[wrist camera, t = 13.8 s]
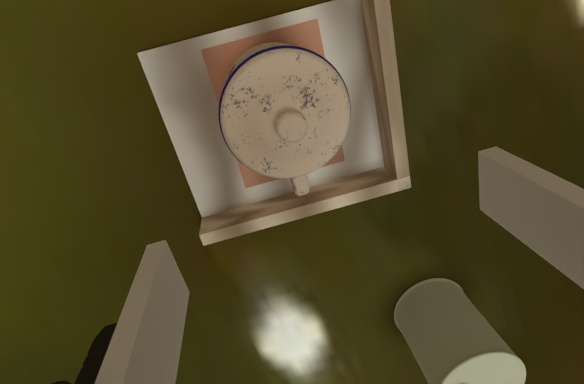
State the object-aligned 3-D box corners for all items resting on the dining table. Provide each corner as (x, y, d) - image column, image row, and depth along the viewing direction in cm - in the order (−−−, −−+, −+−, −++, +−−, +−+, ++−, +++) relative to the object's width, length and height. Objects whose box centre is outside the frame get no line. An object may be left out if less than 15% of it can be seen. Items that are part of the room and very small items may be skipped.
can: (398, 279, 46) (450, 361, 35) (471, 274, 47) (542, 352, 36) (388, 338, 49) (432, 429, 39) (456, 333, 51) (516, 418, 40)
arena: (206, 224, 39) (203, 245, 36) (138, 52, 32) (126, 57, 28) (395, 172, 40) (411, 187, 36) (370, -10, 32) (388, -14, 29)
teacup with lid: (207, 54, 32) (195, 72, 21) (313, 26, 32) (352, 31, 22) (247, 182, 37) (253, 248, 27) (338, 157, 37) (379, 212, 27)
